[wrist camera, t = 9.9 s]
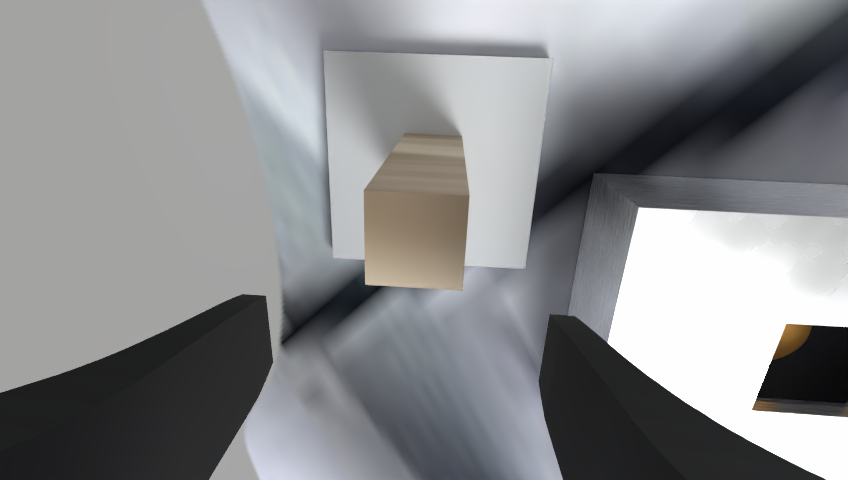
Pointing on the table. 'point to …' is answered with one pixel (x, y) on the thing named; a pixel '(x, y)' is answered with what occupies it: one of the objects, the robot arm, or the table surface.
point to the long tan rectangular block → (418, 215)
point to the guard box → (720, 295)
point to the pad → (439, 115)
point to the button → (791, 339)
